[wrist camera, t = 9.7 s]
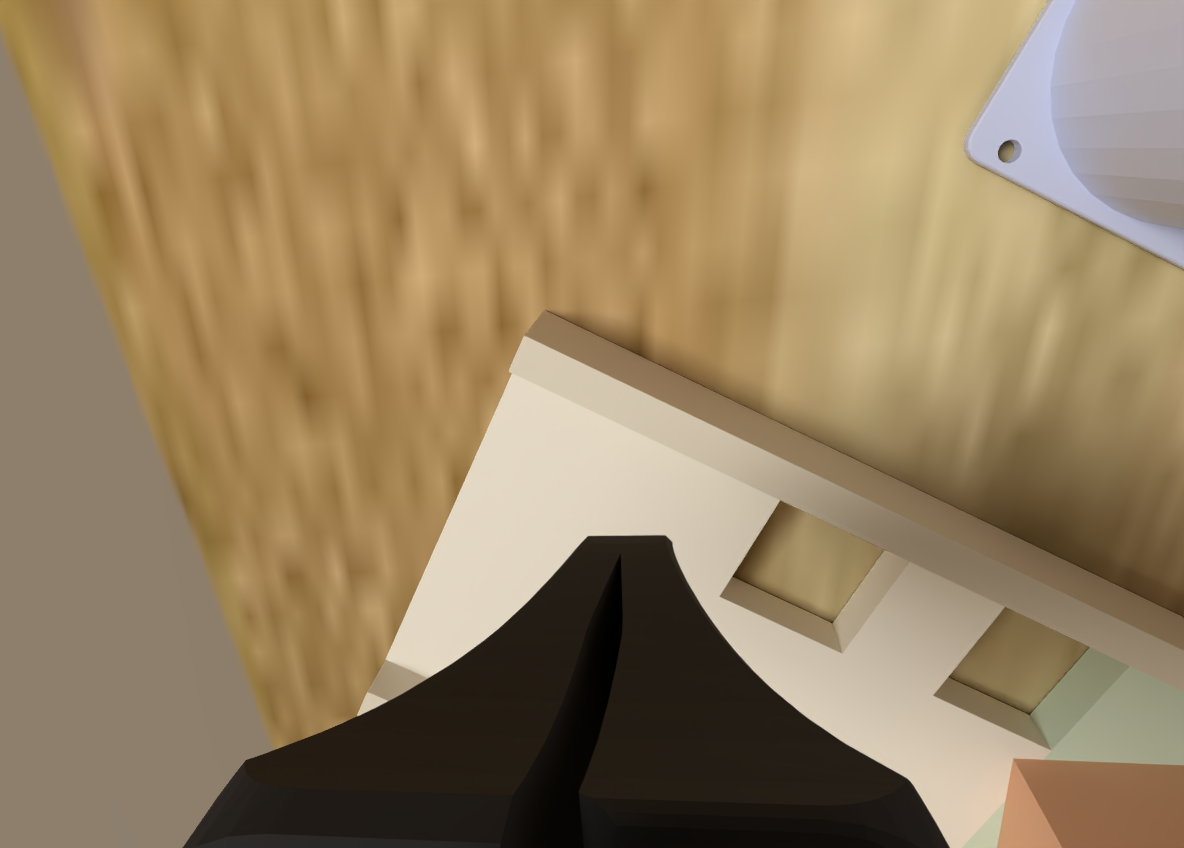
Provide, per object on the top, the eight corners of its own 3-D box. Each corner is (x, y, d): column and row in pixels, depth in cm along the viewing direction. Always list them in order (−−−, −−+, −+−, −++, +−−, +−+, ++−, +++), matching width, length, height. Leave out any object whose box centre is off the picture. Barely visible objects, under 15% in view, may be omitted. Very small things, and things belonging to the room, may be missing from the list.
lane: (1340, 692, 22) (1453, 785, 19) (1060, 951, 27) (1113, 1062, 24) (544, 310, 21) (520, 340, 18) (391, 653, 26) (350, 727, 22)
